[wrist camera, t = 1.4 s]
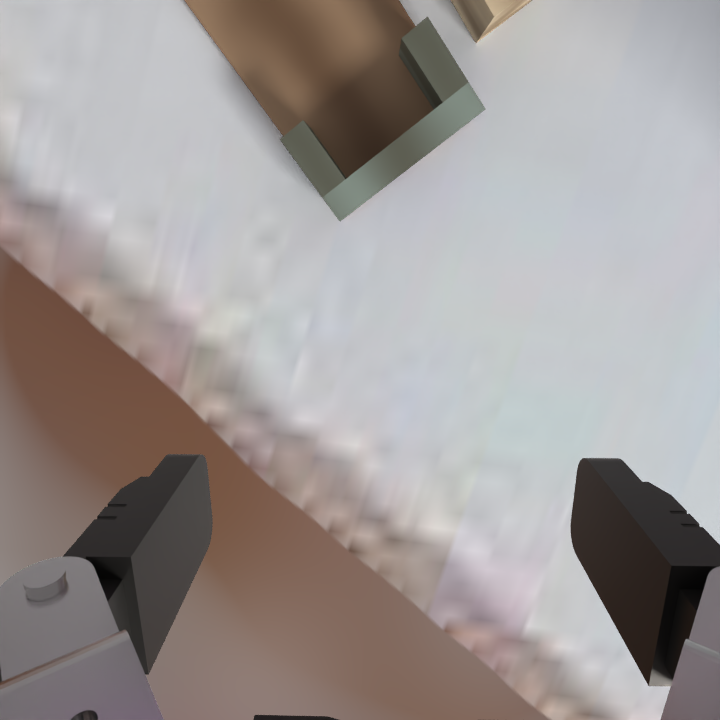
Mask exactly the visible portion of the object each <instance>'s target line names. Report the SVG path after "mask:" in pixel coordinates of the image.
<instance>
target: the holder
mask: <svg viewBox="0 0 720 720" xmlns="http://www.w3.org/2000/svg"><path fill="white" fill-rule="evenodd" d="M185 2H186V3H187V4H188V6H189V7H190V9H191V10H192V11H193V13H194V14H195V15H196V17H197V18H198V20H199V21H200V22H201V24H202V25H203V26H204V28H205V29H206V31H207V32H208V33H209V35H210V36H211V37H212V39H213V40H214V42H215V43H216V44H217V46H218V47H219V48H220V50H221V51H222V53H223V54H224V55H225V57H226V58H227V59H228V61H229V62H230V64H231V65H232V66H233V68H234V69H235V70H236V72H237V73H238V75H239V76H240V77H241V79H242V80H243V81H244V83H245V84H246V86H247V87H248V88H249V90H250V91H251V92H252V94H253V95H254V96H255V98H256V99H257V101H258V102H259V103H260V105H261V106H262V107H263V109H264V110H265V112H266V113H267V114H268V116H269V117H270V118H271V120H272V121H273V123H274V124H275V125H276V127H277V128H278V129H279V131H280V132H281V134H282V135H283V137H282V138H281V139H280V140H281V142H282V143H283V144H284V146H285V147H286V149H287V150H288V151H289V153H290V154H291V155H292V157H293V158H294V160H295V161H296V162H297V164H298V165H299V166H300V168H301V169H302V170H303V172H304V173H305V175H306V176H307V177H308V179H309V180H310V181H311V183H312V184H313V186H314V187H315V188H316V190H317V191H318V192H319V194H320V195H321V196H322V198H323V199H324V201H325V202H326V203H327V205H328V206H329V207H330V209H331V210H332V211H333V213H334V214H335V216H336V217H337V218H338V220H339V221H341V220H343V219H344V218H345V217H346V216H348V215H349V214H350V213H352V212H353V211H354V210H356V209H357V208H358V207H359V206H361V205H362V204H363V203H365V202H366V201H367V200H369V199H370V198H371V197H372V196H374V195H375V194H376V193H378V192H379V191H380V190H381V189H383V188H384V187H385V186H387V185H388V184H389V183H391V182H392V181H393V180H394V179H396V178H397V177H398V176H400V175H401V174H402V173H403V172H405V171H406V170H407V169H409V168H410V167H411V166H413V165H414V164H415V163H416V162H418V161H419V160H420V159H422V158H423V157H424V156H426V155H427V154H428V153H429V152H431V151H432V150H433V149H435V148H436V147H437V146H438V145H440V144H441V143H442V142H444V141H445V140H446V139H448V138H449V137H450V136H451V135H453V134H454V133H455V132H457V131H458V130H459V129H460V128H462V127H463V126H464V125H466V124H467V123H468V122H470V121H471V120H472V119H473V118H475V117H476V116H477V115H479V114H480V113H481V112H483V111H484V110H485V108H484V106H483V104H482V103H481V101H480V100H479V98H478V96H477V95H476V93H475V92H474V90H473V88H472V87H471V85H470V84H469V82H468V80H467V79H466V77H465V76H464V74H463V72H462V71H461V69H460V68H459V66H458V64H457V63H456V61H455V60H454V58H453V56H452V55H451V53H450V52H449V50H448V48H447V47H446V45H445V44H444V42H443V40H442V39H441V37H440V36H439V34H438V33H437V31H436V29H435V28H434V26H433V25H432V23H431V21H430V20H429V18H428V17H427V18H425V19H424V20H423V21H422V22H421V23H419V24H418V25H417V26H416V27H415V25H414V23H413V22H412V20H411V19H410V17H409V16H408V14H407V12H406V11H405V9H404V8H403V6H402V4H401V3H400V1H399V0H185Z"/></svg>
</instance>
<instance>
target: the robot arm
mask: <svg viewBox="0 0 720 720" xmlns="http://www.w3.org/2000/svg"><path fill="white" fill-rule="evenodd" d="M211 534H212V510H211V500H210V490H209V479H208V469H207V463H206V459H205V457H204V456H203V455H192V454H188V455H187V454H180V455H179V454H168V455H166V456H165V458H164V459H163V460H162V461H161V463H160V464H159V465H158V466H157V468H156V469H155V470H154V471H153V473H152V474H151V475H150V476H149V477H140V478H138V479H137V480H135V481H133V482H132V483H130V484H128V485H127V486H125V487H124V488H122V489H121V490H120V491H119V492H118V493H117V494H116V496H114V498H113V499H112V500H111V501H110V502H109V503H108V507H105V508H104V509H103V510H102V512H101V513H100V514H99V515H98V517H97V519H96V520H94V521H93V522H92V523H91V524H90V526H89V527H88V528H87V529H86V530H85V531H84V533H83V534H82V535H81V536H80V537H79V538H78V539H77V541H76V542H75V543H74V544H73V545H72V547H71V548H70V549H69V550H68V551H67V552H66V554H65V555H64V556H63V557H57V558H52V559H47V560H44V561H41V562H38V563H35V564H32V565H30V566H28V567H26V568H24V569H22V570H21V571H19V572H17V573H15V574H14V575H13V576H11V577H10V578H9V579H7V580H6V581H5V582H4V583H3V584H2V585H1V586H0V720H164V719H163V717H162V715H161V712H160V710H159V707H158V705H157V702H156V700H155V697H154V695H153V692H152V690H151V688H150V685H149V683H148V680H147V678H146V675H145V674H149V672H150V670H151V668H152V666H153V664H154V662H155V660H156V658H157V655H158V653H159V651H160V649H161V647H162V645H163V643H164V641H165V639H166V636H167V634H168V632H169V630H170V628H171V626H172V624H173V622H174V619H175V617H176V615H177V613H178V611H179V609H180V607H181V605H182V602H183V600H184V598H185V596H186V594H187V592H188V590H189V588H190V585H191V583H192V581H193V579H194V577H195V575H196V573H197V571H198V568H199V566H200V564H201V562H202V560H203V558H204V556H205V554H206V552H207V549H208V547H209V544H210V540H211ZM571 538H572V544H573V548H574V551H575V553H576V555H577V557H578V559H579V561H580V562H581V564H582V566H583V568H584V570H585V571H586V573H587V575H588V577H589V579H590V581H591V582H592V584H593V586H594V588H595V590H596V591H597V593H598V595H599V597H600V599H601V600H602V602H603V604H604V606H605V608H606V610H607V611H608V613H609V615H610V617H611V619H612V620H613V622H614V624H615V626H616V628H617V629H618V631H619V633H620V635H621V637H622V638H623V640H624V642H625V644H626V646H627V648H628V649H629V651H630V653H631V655H632V657H633V658H634V660H635V662H636V664H637V666H638V667H639V669H640V671H641V673H642V675H643V677H644V678H645V680H646V682H647V684H648V686H671V688H670V691H669V694H668V697H667V701H666V704H665V707H664V710H663V714H662V717H661V720H720V545H719V544H718V543H717V542H716V541H715V540H714V539H713V538H712V536H711V535H710V534H709V533H708V532H707V531H706V530H705V529H704V528H703V527H699V523H698V522H697V521H696V520H695V519H694V518H693V517H692V516H691V515H690V514H687V511H686V510H685V509H684V508H683V507H682V506H681V505H680V504H679V503H678V502H677V501H676V500H675V499H674V497H673V496H672V495H670V494H668V493H666V492H665V491H663V490H661V489H660V488H658V487H656V486H654V485H653V484H651V483H649V482H642V481H641V480H640V479H639V478H638V477H637V476H636V475H635V473H634V472H633V471H632V470H631V469H630V468H629V467H628V466H627V465H626V464H625V463H624V461H622V460H621V459H618V458H583V459H581V461H580V462H579V465H578V469H577V476H576V485H575V493H574V501H573V509H572V517H571ZM254 720H338V719H334V718H331V717H325V716H278V715H255V716H254Z"/></svg>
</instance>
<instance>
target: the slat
mask: <svg viewBox="0 0 720 720" xmlns="http://www.w3.org/2000/svg"><path fill="white" fill-rule="evenodd" d="M451 1H452V3H453V5H454V7H455V8H456V10H457V12H458V13H459V15H460V17H461V19H462V20H463V22H464V24H465V25H466V27H467V29H468V31H469V32H470V34H471V36H472V37H473V39H474V41H475V43H477V42H479V41H480V40H481V39H482V38H484V37H485V36H486V35H488V34H489V33H490V32H492V31H493V30H494V29H495V28H497V27H498V26H499V25H501V24H502V23H503V22H505V21H506V20H507V19H508V18H510V17H511V16H512V15H514V14H515V13H516V12H518V11H519V10H520V9H521V8H523V7H524V6H525V5H527V4H528V3H529V2H531V1H532V0H451Z"/></svg>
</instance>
